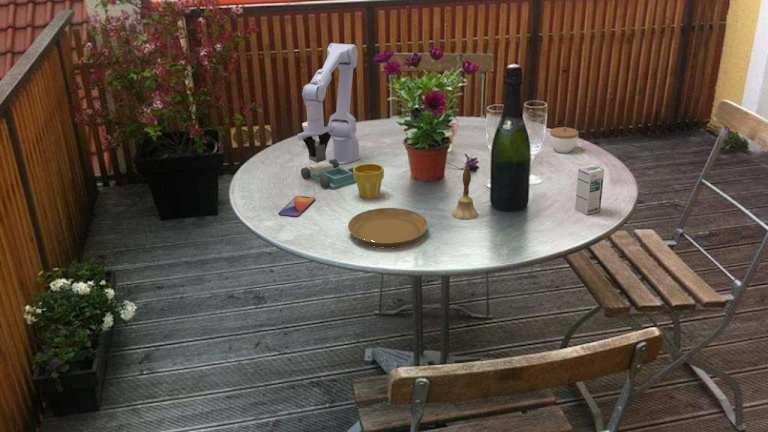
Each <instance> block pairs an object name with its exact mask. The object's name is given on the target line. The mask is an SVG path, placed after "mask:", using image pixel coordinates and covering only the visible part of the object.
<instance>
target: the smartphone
mask: <svg viewBox="0 0 768 432" xmlns="http://www.w3.org/2000/svg"><path fill="white" fill-rule="evenodd" d="M315 202H316V198H315V197H312V196H303V195H297V196H295V197H293V198H292V200H291V201H289V202H288V203H287V204H286V205H285V206H284V207H283V208H282V209H281V210H280V211H279V212H278V213H277V214H278V216H280V217H288V218H299V217H300V216H302V215H303V214H304V213H305V212H306V211H307V210H308V209H309V208H310V207H311V206H312V205H313V204H314V203H315Z"/></svg>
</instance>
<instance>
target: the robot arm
mask: <svg viewBox="0 0 768 432" xmlns="http://www.w3.org/2000/svg"><path fill="white" fill-rule="evenodd" d="M326 53H327V55H326V56H327V57H326V60H325V61H324V64H323V66H322V68H320V69H318V70H316V72H315V74H314V76H313V77H312V79H311V80H310V82H309V83H308V84H305V85H304V86H303V89H302V93H301V97H302V100H303V102H304V106H306V108H305V109H306V118H307V119H306V122H307V123H308V130H306V131H304V130H303V132H300V133H297V140H298V141H303V143H304V144H305V146H306V148H307V151H309V152H308V155H309V154H310V156H311V157H315V141H317V139H316V140H314V139H313V138H312V137H314V136H317V137H318V141H319V142H321V143H323V144H325V152H326V153H327V147H328V144H329V141H330V139H331V140H332V146H333V157H329V161H330V160H332V159H336V160H337V161H338V164H339V165H345V164H348V163H352V162H355V161H359V160H361V157H360V144H359V139H358V138H357V137H356V134H357V125H356V124H357V123H356V121H357V120H356V118H355V116H353V114H351V113H350V110H351V100H352V99H351V97H352V89H353V88H352V86H353V77H354V74H353V73H354V69H355V68H357V65H358V57H359V56H358V53H359V52H358V48H357V46H356V45H355V44H354V43H353V44H349V43H348V44H347V43H336V42H331V43H329V45H328V47H327V50H326ZM336 68H338V70H339V73H338V74H339V75H338V87H337V96H336V97H337V98H336V99H337V100H336V110H335V112H334V113H333V114H332V115H330V116H329V120H328V123H327V126H326V125H325V121H324V104H323V102H324V100H325V98H326V94H327V87H328V86H329V83H331V81H332V73H333V72H334V70H336Z"/></svg>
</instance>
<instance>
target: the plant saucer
mask: <svg viewBox="0 0 768 432" xmlns="http://www.w3.org/2000/svg"><path fill="white" fill-rule="evenodd" d="M347 224H348V225H347V228H348V231H349V233H350V234H351V236H352V237H353V238H354V239H355V240H357V241H358V242H360V243H362V244H365V245H367V246H369V245H370V247H373V246H375V247H374V248H379V247H384V248H383V249H386V248H387V249H393V248H392V247H394V248H401V247H404V245H405V246H408V245H411V244H412V243H414V242H416V241H418V240H419V239H421V237H423V235H425V233H426V231H427V230H428V225H429V224H428V221H427V219H426V217H424V216H423V215H421V214H420V213H418V212H416V211H413V210H409V209H406V208H400V207H399V208H397V207H381V208H379V207H378V208H375V209H374V208H373V209H369V210H366V211H361V212H359V213H357V214H356V215H355V216H353V217H352V218H351V219H350V220H349V221H348V223H347ZM364 239H365V240H364ZM371 240H373V241H375V242H372V241H371ZM400 246H401V247H400Z"/></svg>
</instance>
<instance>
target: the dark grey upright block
mask: <svg viewBox="0 0 768 432" xmlns="http://www.w3.org/2000/svg"><path fill="white" fill-rule="evenodd" d="M307 151H308V150H307ZM326 153H327V151H326V152H325V144H323V143H321V142H319V140H316V141H315V157H311V156H310V154H309V151H308V160H309V161H312V162H314V163H315V164H318V163H321V162H326V161H327V155H326Z"/></svg>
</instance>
